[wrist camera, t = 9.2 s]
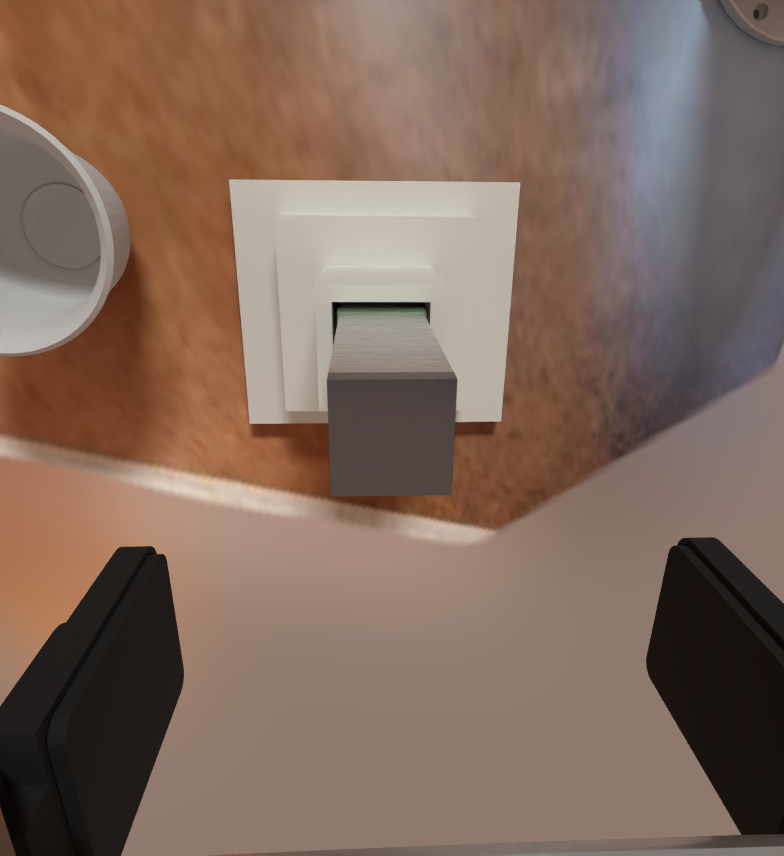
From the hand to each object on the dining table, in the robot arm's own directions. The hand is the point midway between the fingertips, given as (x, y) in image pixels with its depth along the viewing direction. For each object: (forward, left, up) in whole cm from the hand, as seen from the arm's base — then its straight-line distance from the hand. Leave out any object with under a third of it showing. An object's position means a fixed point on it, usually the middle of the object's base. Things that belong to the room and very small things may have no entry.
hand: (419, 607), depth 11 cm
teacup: (+20, -4, -32) cm, 38 cm away
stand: (0, 0, -32) cm, 32 cm away
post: (0, 0, -25) cm, 25 cm away
